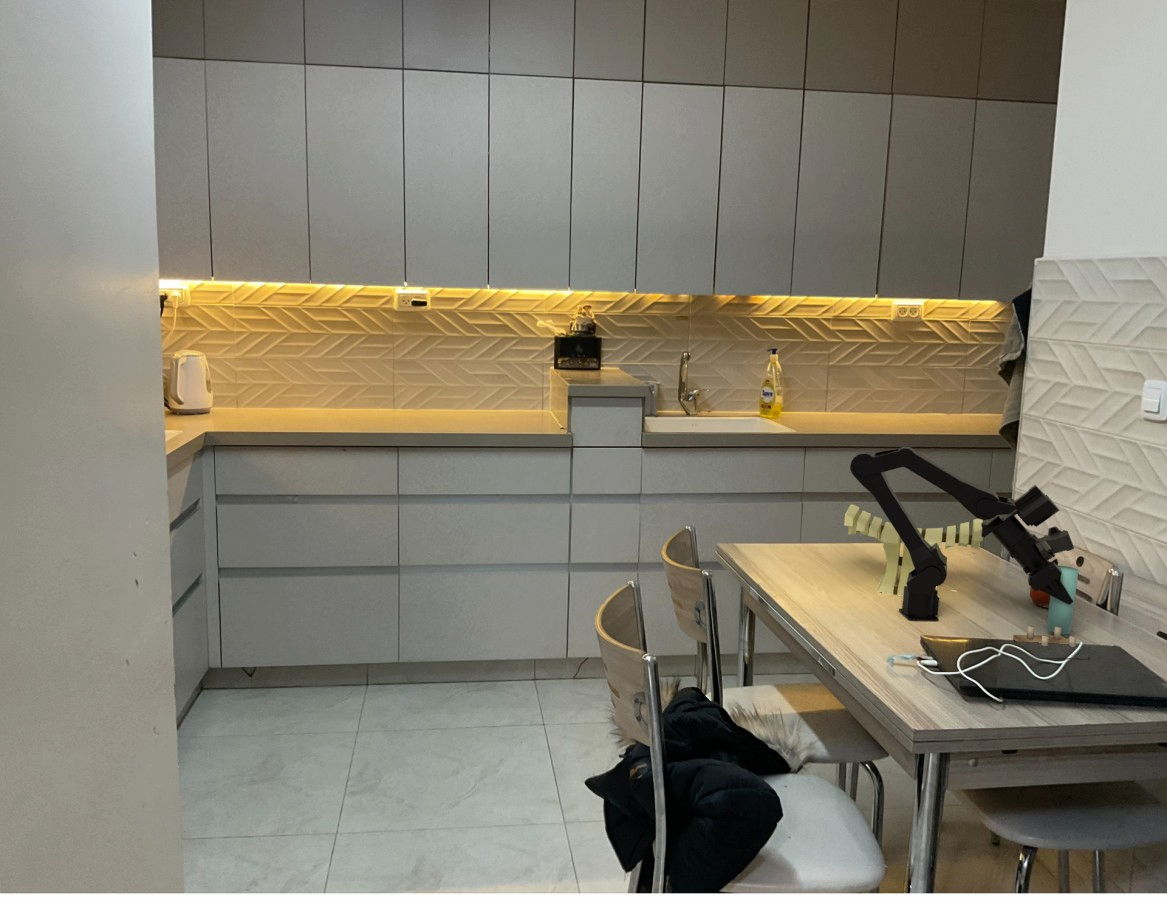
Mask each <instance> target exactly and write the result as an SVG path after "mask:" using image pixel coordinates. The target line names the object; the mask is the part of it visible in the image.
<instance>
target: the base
mask: <svg viewBox="0 0 1167 900" xmlns="http://www.w3.org/2000/svg"><path fill="white" fill-rule="evenodd" d="M1034 634H1035V626H1033V625H1027V631H1026V634H1013V635H1012V637H1013V638H1012V641H1013V640H1015V641H1020V642H1039V643H1041V645H1042V646H1048V643H1059V644H1069V646H1071V647H1075V646H1076V645H1077V636H1074V635H1070V636H1069V639H1067V638H1065V637H1064V636H1063V635H1061V627H1057V626H1056V627H1055V630H1054V632H1053V635H1045V634H1044V635H1042V634H1041V635H1037V634H1035V635H1034Z"/></svg>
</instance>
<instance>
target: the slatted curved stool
mask: <svg viewBox="0 0 1167 900" xmlns="http://www.w3.org/2000/svg"><path fill="white" fill-rule="evenodd" d="M871 518H872V513H869V512H868V511H865V510H862V511H861V513H860V507H859V506H857V505H856V504H850V505H849V506H848V508H847V510H846V512H845V514H844V523H843V525H844V526H846V527H847V528H848V530H847V532H848V533H847V535H849V536H850V535H856V534H857V533H858V532H859V535H864V536H868V537H872V538H873V539H876V540H877V541H879V542H880V543H881V542H882V543H883V544H882V547H883V549H884V553H885V557H886V568H885V571H884V573H883V575H882V576H881V578H880V579H881V581H880V580H879V582H880V584H879V583H878V585H879V587H878V586H877V589H878V590H877V589H876V592H882V593H881V594H883V593H889V594H888V595H891V594H893V593H895V594H893V595H897V596H898V595H903V594H904V586H907V579H908V574H909V573H910V572H911V571H912V570H914V569H915V568H914V565H913V562H912V559H911V556H910V553H909V551H908V549H907V547H906V546H905V544H904V543H903V541H902V539H901V538H900V536H899V535H898V533H897V532H896V530H895V528H894V527H893V525H892V524H891V522H890V521H885V523H884V525H883V519H882V518H881V517H879V516H873V519H872V520H871ZM982 522H984V520H981V519H978V518H975V519H973V521H972V528H971V529H972V530H971V531H972V532H971V534H970V521H968V522H967V521H966V522H962V523H959V533H957V531H956V530H957V529H956V528H957V526H956V525H949V526H947V527H946V532H943V530H944V527H934V528H933V527H931V528H929V527H928V528H925V529H923V527H922V528H920V527H917V529H918V530H919V532H920V534H921V535H922V537H923V538H924V540H925V541H926V542H928V543H929V544H930V545H931V546H933V545H934V544H935V543H937V544H938V546H939V548H940V550H941V551H942V545H943V544H942V542H943V543H945V548H944V549H945V550H947V549H949V548H954V547H955V545H956V544H958V547H968V545H969V546H970V548H972V549H975V550H978V551H980V549H981V548H980V547H981V542H983V538H984V537H982V536H981V531H982V526H981V523H982ZM901 545H903V546H902V547H903V550H902V556H900V555H901V554H900V553H901ZM899 566H900V567H901V569H900V570H901V571H900V575H899V576H900V577H899V581H898V572H899ZM897 581H898V584H897ZM896 585H898V586H896ZM935 589H936V588H935Z"/></svg>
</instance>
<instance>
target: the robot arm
mask: <svg viewBox="0 0 1167 900" xmlns="http://www.w3.org/2000/svg"><path fill="white" fill-rule="evenodd" d="M899 468H900V469H901V468H906V469H907V470H909V471H910V472H912V473H914V474H915V475H917V476H919V477H920V478H922V479H923V480H926V481H927V482H929V483H931V484H932V485H934V486H935V487H937V488H938V489H940V490H942V491H944V492H945V493H947V494H949V495H950V496H952V497H953V498H954V500H955V499H956V501H957V502H958V503H960V505H962V507H964V509H966V510H967V511H968V512H969V513H970V514H972V515H973V516H974V517H975V518H976V519H981V520H983V522H982V523H981V526H982V531H981V536H982V537H983V538H986V537H987V536H988V535H990V534H992V535H993V536H994V537H995V539H996V540H997V541H998V542H999V543H1000V544H1001V545H1002V546H1003V548H1004V549H1005V550H1006V551H1007V552H1008V555H1009V557H1011V558H1012V559H1014V560H1015V562H1017V564H1019V565H1020V567H1021V568H1022V571H1023V572H1024V574H1025V575H1027V582H1028V585H1029V586H1030V587H1032V589H1033V590H1034V591H1038V590H1040V591H1042V592H1044V593H1046V594H1049V595H1051V596H1053V597H1055V598H1057V599H1059V600H1061V601H1063V602H1065V603H1066V604H1071V603H1073V600H1072V598H1071V597H1070V595H1069V593H1068V592H1067V590H1066V588H1065V587H1064V585H1063V583H1062V582H1061V580H1060V579H1061V574H1062V571H1061V568H1059V567H1058V566H1059V561H1058V559H1057V558H1055V557H1056V554H1059V553H1063V552H1065V551H1066V552H1069V551H1072V550H1074V549H1075V546H1074V543H1073V542H1072V539H1071V535H1070V533H1069V531H1068V530H1066V529H1063V530H1062V529H1059V528H1058V527H1057V526H1052V527H1049V528H1048V531H1047V534H1045V535H1044V536H1042V537H1039V538H1038V536H1036V534H1033V533H1031V532H1030V531H1029V530H1028V529H1027V528H1026V527H1033V526H1034V527H1036V528H1037V527H1038V526H1040V525H1041V524H1043V523H1045V522H1046V521H1047V520H1049V519H1050V518H1051V517H1053V516H1054V515H1056V514H1057V513H1059V512H1060V511H1061V510H1060V509H1059V507H1058V506H1057V505H1056V504H1055V502H1053V500H1052V498H1050V496H1049V495H1048V494H1045V493H1044V491H1042V490H1041V489H1040V488H1039V486H1037V484H1034V485H1033V486H1031V487H1030V488H1029V489H1028V490H1027V491H1026V492H1025V493H1023V494H1022V495H1020V496H1019V497H1018V498H1016V499H1014V498H1011V497H1005V496H1001V495H998V494H997V493H996V491H994V490H993V489H992V488H991V489H990V488H988V487H985V486H983V485H980V484H978V483H975V482H971V481H968V480H965V479H963V478H961V477H959V476H958V475H956V474H954V473H952V472H951V471H950V470H947V469H946V468H944V467H942V466H941V465H939V464H937V463H936V462H934V461H932V460H931V459H929V458H927V457H926V456H924V455H922V454H920V453H919V452H918V451H916V450H915V449H914V448H912V447H910V446H901V447H899V448H893V449H888V450H887V449H886V450H881V451H877V452H876V451H872V450H868V449H867V450H862V451H859V452H858V453H856V455H855V456H854V457H853V458H852V459H851V462H850V467H849V469H850V472H851V474H852V475H853V477H854V478H855V479H856V480H857V482H858V483H860V485H861V486H863V487H864V489H866V490H867V491H868V492H869V493H870V494H871V495H872V496H873V497H874V498H875V500H876V502H877V503H878V505H879V506H880V508H881V509H882V512H883V513H884V514H885V516H886V517H887V519H888V520H889V521H888V522H890V523H891V524H892V525H893V527H894V528H895V530H896V532H897V533H898V535H899V536H900V538H901V542H902V541H903V543H904V544H905V546H906V547H907V549H908V551H909V553H910V556H911V559H912V562H913V565H914V568H915V569H914V570H912V571H911V572H910V573H909V574H908V579H907V586H904V594H903V596H902V607H901V608H899V609H898V612H899V613H900V614H901V615H902V616H904V618H906V619H908V620H909V621H923V622H924V621H928V622H938V620H939V617H938V615H939V607H940V597H939V596H938V595H939V591H938V589H937V590H936V589H935V588H936V586H937V587H939V586H941V585H942V584H944V582H945V581H946V579H947V575H948V563H947V562H948V557H947V556H946V555H944V553H943V552H942V549H941V550H940V548H939V546H938V544H937V543H935V544H934V545H933V546H931V545H930V544H929V543H928V542H926V541H925V540H924V538H923V537H922V535H921V534H920V532H919V530H918V529H917V528H918V527H917V525H916V524H915V522H913V519H912V518H911V516H910V515H909V513H908V512H907V510H906V509H905V507H904V505H903V504H902V503H901V501H900V499H899V498H898V495H896V493H895V491H894V490H893V489H892V487H891V485H890V482H889V480H888V477H887V475H886V472H889V471H892V470H895V469H899ZM1002 515H1003V516H1002ZM1016 515H1017V516H1018V517H1019V518H1020V520H1021V521H1022V522H1023V523H1024V524H1025V525H1026V527H1025V526H1024V525H1023V523H1022V522H1021V521H1020V520H1019V519H1018V517H1016ZM988 520H990V521H989V522H984V521H988ZM904 544H903V545H904ZM1053 558H1054V559H1053ZM1051 559H1053V560H1051ZM1050 560H1051V561H1050Z"/></svg>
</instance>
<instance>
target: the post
mask: <svg viewBox="0 0 1167 900" xmlns="http://www.w3.org/2000/svg"><path fill="white" fill-rule="evenodd" d="M1058 567H1059V568H1061V571H1062V574H1061V579H1060V580H1061V582H1062V583H1063V585H1064V587H1065V588H1066V590H1067V592H1068V593H1069V595H1070V597H1071V598H1072V600H1073V603H1071V604H1066V603H1065V602H1063V601H1061V600H1059V599H1057V598H1055V597H1053V596H1050V604H1049V608H1048V616H1047V622H1046V623H1047V624H1046V629H1047V631H1050V632H1052V633H1054V630H1055V627H1056V626H1057V627H1061V634H1062V635H1065V634H1067V635H1069V634H1071V633H1072V627H1073V626H1072V625H1073V619H1074V618H1073V617H1074V610H1075V601H1076V594H1077V587H1078V585H1077V584H1078V577H1079V569H1077V567H1076V568H1075V567H1072V566H1067V565H1058Z"/></svg>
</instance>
